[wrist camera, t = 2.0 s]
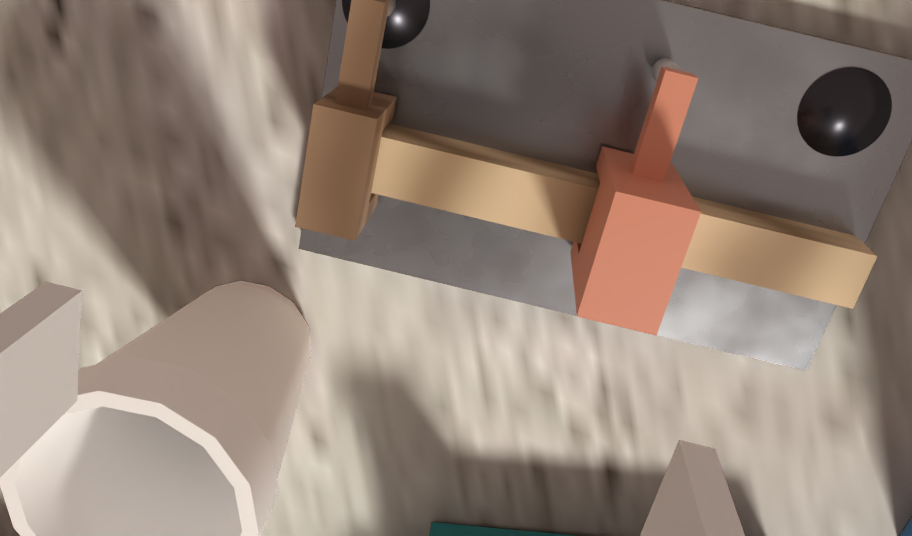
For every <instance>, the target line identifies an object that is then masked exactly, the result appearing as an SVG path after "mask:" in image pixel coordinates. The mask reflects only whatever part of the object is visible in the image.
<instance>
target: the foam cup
mask: <svg viewBox="0 0 912 536" xmlns="http://www.w3.org/2000/svg"><path fill="white" fill-rule="evenodd" d="M311 352H312V347H311V339H310V332H309V325H308V324H307V322H306V321H305V319H304V318H303V316H302V315H301V313H300V312H299V310H298V309H297V307H296V306H295V304H294V303H293V302H292V301H290V300H289V299H288V298H286V297H285V296H283V295H282V294H280V293H279V292H277V291H276V290H274V289H273V288H271V287H270V286H266V285H261V284H256V283H251V282H246V281H237V282H233V283H229V284H224V285H220V286H216V287H214V288H213V289H212V290H209V291H207V292H206V293H204V294H203V295H201V296H200V297H198V298H197V299H195V300H193V301H192V302H190V303H189V304H187V305H186V306H184V307H183V308H181V309H180V310H178V311H177V312H175V313H174V314H172V315H171V316H169V317H168V318H166V319H165V320H163V321H162V322H160V323H159V324H157V325H155V326H154V327H152V328H151V329H149V330H148V331H146V332H145V333H143V334H142V335H140V336H139V337H137V338H136V339H134V340H133V341H131V342H130V343H128V344H127V345H125V346H124V347H122V348H121V349H119V350H117V351H116V352H114V353H113V354H111V355H110V356H108V357H107V358H105V359H104V360H102V361H101V362H99V363H98V364H96V365H93V366H88V367H84V368H80V369H79V371H78V394H77V402H76V403H75V404H74V405H73V406H72V407H71V408H70V409H69V410H68V411H67V412H66V413H65V414H64V415H63V416H62V417H61V418H60V419H59V420H58V421H57V422H56V423H55V424H54V425H53V426H52V427H51V428H50V429H49V430H48V431H47V432H46V433H45V434H44V435H43V436H42V437H41V438H40V439H39V440H38V441H37V442H36V443H35V444H34V445H33V446H32V447H31V448H30V449H29V450H28V451H27V452H26V453H25V454H24V455H23V456H22V457H21V458H20V459H19V460H18V461H16V462H15V463H14V464H13V465H12V466H11V467H10V468H9V469H8V470H7V471H6V472H5V473H4V474H3V475H2V476H1V477H0V487H1V490H2V493H3V496H4V500H5V503H6V506H7V509H8V512H9V515H10V518H11V521H12V524H13V527H14V529H15V530H16V531H17V532H18V534H19V535H20V536H261V534H262V532H263V530H264V527H265V525H266V522H267V520H268V517H269V515H270V513H271V510H272V508H273V505H274V503H275V500H276V498H277V495H278V493H279V490H278V484H277V478H278V474H279V470H280V467H281V463H282V459H283V456H284V452H285V449H286V445H287V441H288V438H289V434H290V430H291V427H292V423H293V420H294V416H295V412H296V409H297V405H298V401H299V398H300V394H301V390H302V387H303V383H304V380H305V376H306V372H307V369H308V365H309V361H310V358H311V357H310V355H311Z"/></svg>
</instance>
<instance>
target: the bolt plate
mask: <svg viewBox="0 0 912 536" xmlns="http://www.w3.org/2000/svg"><path fill="white" fill-rule="evenodd" d="M350 6H351V0H336V6H335V13H334V19H333V26H332V33H331V39H330V46H329V52H328V59H327V66H326V72H325V79H324V85H323V92H322V97H324V96H325V95H326V94H328V93H329V92H331V91H332V90H333V89H335V88H336V87H338V82H339V75H340V69H341V63H342V56H343V50H344V44H345V38H346V31H347V25H348V19H349V12H350ZM663 58H669V59H671V60H673V61H674V62H675V63H676V64H677V65H679V66H680V67H681V68H682V69H683V70H684V71H685V72H688V73H692V74H694V75H695V76H696V77H698V81H697V84H696V87H695V90H694V93H693V96H692V99H691V102H690V105H689V108H688V111H687V114H686V117H685V120H684V123H683V126H682V129H681V132H680V134H679V137H678V140H677V143H676V146H675V149H674V152H673V155H672V158H671V161H670V163H672V164H673V166H674V167H675V169H676V171H677V172H678V174H679V176H680V177H681V179H682V181H683V182H684V184H685V186H686V187H687V189H688V191H689V192H690V194H691V196H693V197H697V198H701V199H705V200H709V201H713V202H717V203H722V204H726V205H730V206H734V207H738V208H742V209H747V210H751V211H755V212H759V213H763V214H767V215H772V216H776V217H780V218H784V219H788V220H792V221H796V222H801V223H805V224H809V225H813V226H817V227H821V228H826V229H830V230H834V231H838V232H842V233H846V234H851V235H855V236H856V237H858V238H859V239H860V240H861V241H862V242H863V243H864V244H865V242H866V240H867V237H868V235H869V233H870V231H871V229H872V226H873V224H874V222H875V220H876V218H877V216H878V213H879V211H880V209H881V207H882V205H883V202H884V200H885V198H886V196H887V194H888V191H889V189H890V187H891V185H892V183H893V180H894V178H895V176H896V174H897V172H898V170H899V167H900V165H901V163H902V161H903V159H904V156H905V154H906V152H907V150H908V148H909V145H910V143H911V141H912V59H908V58H904V57H899V56H895V55H891V54H887V53H883V52H878V51H874V50H870V49H866V48H862V47H858V46H853V45H849V44H845V43H841V42H837V41H833V40H828V39H824V38H820V37H816V36H812V35H807V34H803V33H799V32H795V31H791V30H787V29H782V28H778V27H774V26H770V25H766V24H762V23H757V22H753V21H749V20H745V19H741V18H736V17H732V16H728V15H724V14H720V13H716V12H711V11H707V10H703V9H699V8H695V7H691V6H686V5H682V4H678V3H674V2H670V1H665V0H396V8H395V10H394V12H393V13H392V14H391V15H389V16H387V19H386V25H385V30H384V36H383V42H382V47H381V53H380V59H379V64H378V70H377V76H376V81H375V87H374V92H378V93H382V94H386V95H391V96H395V97H397V101H396V106H395V111H394V117H393V119H392V120H391V121H390V123H389V124H393V125H397V126H402V127H406V128H410V129H414V130H418V131H422V132H426V133H431V134H435V135H439V136H443V137H447V138H451V139H456V140H460V141H464V142H468V143H472V144H476V145H481V146H485V147H489V148H493V149H497V150H501V151H505V152H510V153H514V154H518V155H522V156H526V157H530V158H535V159H539V160H543V161H547V162H551V163H555V164H560V165H564V166H568V167H572V168H576V169H580V170H584V171H589V172H593V173H597V169H596V165H597V162H598V158H599V155H600V152H601V148H602V146H603V147H607V148H611V149H615V150H619V151H624V152H628V153H632V154H634V152H635V149H636V146H637V143H638V140H639V136H640V133H641V130H642V127H643V124H644V121H645V117H646V114H647V111H648V108H649V105H650V102H651V98H652V95H653V92H654V89H655V86H656V83H657V82H656V81H655V80H654V78H653V76H652V68H653V66H654V64H655V63H656V62H657V61H658V60H660V59H663ZM597 174H598V173H597ZM572 245H573V241H569V240H565V239H561V238H557V237H552V236H548V235H544V234H540V233H536V232H532V231H527V230H523V229H519V228H515V227H511V226H507V225H503V224H498V223H494V222H490V221H486V220H482V219H478V218H474V217H469V216H465V215H461V214H457V213H453V212H449V211H444V210H440V209H436V208H432V207H428V206H424V205H420V204H415V203H411V202H407V201H403V200H399V199H395V198H391V197H386V196H382V195H379V196H378V201H377V206H376V208H375V209H374V211H373V212H372V214H371V216H370V217H369V219H368V221H367V222H366V224H365V225H364V227H363V229H362V230H361V232H360V234H359V235H358V237H357V239H356V240H355V241H353V240H349V239H345V238H341V237H337V236H332V235H328V234H324V233H320V232H316V231H312V230H307V229H303V228H302V231H301V237H300V244H299V249H302V250H306V251H310V252H314V253H319V254H323V255H327V256H331V257H335V258H339V259H343V260H348V261H352V262H356V263H360V264H364V265H368V266H372V267H377V268H381V269H385V270H389V271H393V272H397V273H401V274H406V275H410V276H414V277H418V278H422V279H426V280H430V281H435V282H439V283H443V284H447V285H451V286H455V287H459V288H464V289H468V290H472V291H476V292H480V293H484V294H488V295H493V296H497V297H501V298H505V299H509V300H513V301H517V302H522V303H526V304H530V305H534V306H538V307H542V308H546V309H551V310H555V311H559V312H563V313H567V314H571V315H575V316H577V313H576V303H575V293H574V284H573V274H572V264H571V254H570V252H571V248H572ZM835 308H836V305H835V304H830V303H826V302H822V301H818V300H814V299H810V298H806V297H801V296H797V295H793V294H789V293H785V292H781V291H776V290H772V289H768V288H764V287H760V286H756V285H752V284H747V283H743V282H739V281H735V280H731V279H727V278H723V277H718V276H714V275H710V274H706V273H702V272H698V271H693V270H689V269H685V268H681V269H680V272H679V275H678V278H677V280H676V283H675V286H674V289H673V291H672V294H671V297H670V300H669V302H668V305H667V308H666V311H665V313H664V316H663V319H662V322H661V324H660V327H659V330H658V333H657V335H658V336H662V337H667V338H671V339H675V340H679V341H683V342H687V343H691V344H696V345H700V346H704V347H708V348H712V349H716V350H720V351H725V352H729V353H733V354H737V355H741V356H745V357H749V358H754V359H758V360H762V361H766V362H770V363H774V364H778V365H783V366H787V367H791V368H795V369H799V370H803V371H807V369H808V367H809V364H810V362H811V360H812V358H813V356H814V354H815V351H816V349H817V347H818V345H819V343H820V340H821V338H822V336H823V334H824V332H825V329H826V327H827V325H828V323H829V321H830V318H831V316H832V314H833V312H834V310H835Z"/></svg>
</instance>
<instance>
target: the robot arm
mask: <svg viewBox="0 0 912 536" xmlns="http://www.w3.org/2000/svg"><path fill="white" fill-rule="evenodd" d="M81 302H82V291H81V290H77V289H73V288H69V287H65V286H61V285H57V284H53V283H49V282H45V283H44V284H42V285H41V286H39V287H38V288H36V289H35V290H34V291H32V292H31V293H29V294H28V295H26V296H25V297H23V298H22V299H21V300H19V301H18V302H16V303H15V304H13V305H12V306H10V307H9V308H8V309H6V310H5V311H3V312H2V313H0V477H1V476H2V475H3V474H4V473H5V472H6V471H7V470H8V469H9V468H10V467H11V466H12V465H13V464H14V463H15V462H16V461H18V460H19V459H20V458H21V457H22V456H23V455H24V454H25V453H26V452H27V451H28V450H29V449H30V448H31V447H32V446H33V445H34V444H35V443H36V442H37V441H38V440H39V439H40V438H41V437H42V436H43V435H44V434H45V433H46V432H47V431H48V430H49V429H50V428H51V427H52V426H53V425H54V424H55V423H56V422H57V421H58V420H59V419H60V418H61V417H62V416H63V415H64V414H65V413H66V412H67V411H68V410H69V409H70V408H71V407H72V406H73V405H74V404H75V403H76V402H77V394H78V371H79V348H80V325H81ZM640 536H745V534H744V531H743V528H742V525H741V523H740V520H739V517H738V514H737V511H736V508H735V505H734V502H733V499H732V496H731V494H730V491H729V488H728V485H727V482H726V479H725V476H724V473H723V470H722V467H721V465H720V462H719V459H718V456H717V453H716V450H715V449H713V448H709V447H705V446H701V445H697V444H693V443H689V442H685V441H681V440H679V442H678V444H677V446H676V449H675V451H674V454H673V456H672V459H671V461H670V463H669V466H668V468H667V471H666V473H665V476H664V478H663V481H662V483H661V485H660V488H659V490H658V493H657V495H656V498H655V500H654V503H653V505H652V507H651V510H650V512H649V515H648V517H647V520H646V522H645V524H644V527H643V529H642V532H641V534H640Z"/></svg>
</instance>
